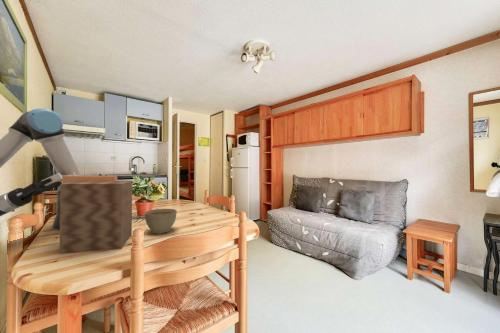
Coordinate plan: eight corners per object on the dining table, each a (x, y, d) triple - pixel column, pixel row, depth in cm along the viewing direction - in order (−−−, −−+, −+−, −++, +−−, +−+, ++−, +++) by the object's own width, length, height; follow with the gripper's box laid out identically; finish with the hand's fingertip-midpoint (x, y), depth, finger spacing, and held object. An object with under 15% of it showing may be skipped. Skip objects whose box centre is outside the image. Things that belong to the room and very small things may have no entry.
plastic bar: (52, 181, 94) (52, 175, 94) (57, 180, 97) (57, 175, 97) (114, 181, 101) (114, 176, 101) (117, 180, 104) (117, 175, 104)
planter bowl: (182, 228, 122) (182, 209, 122) (164, 237, 107) (164, 216, 106) (157, 225, 126) (158, 207, 126) (137, 234, 111) (137, 213, 110)
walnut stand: (59, 253, 86) (60, 184, 85) (80, 238, 103) (81, 180, 103) (121, 248, 92) (122, 183, 92) (131, 235, 109) (132, 180, 109)
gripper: (38, 202, 104) (84, 180, 109) (-4, 212, 80) (58, 184, 86) (29, 188, 103) (76, 167, 108) (-16, 195, 79) (47, 168, 85)
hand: (68, 175), depth 97 cm, fingers open, 12 cm apart
